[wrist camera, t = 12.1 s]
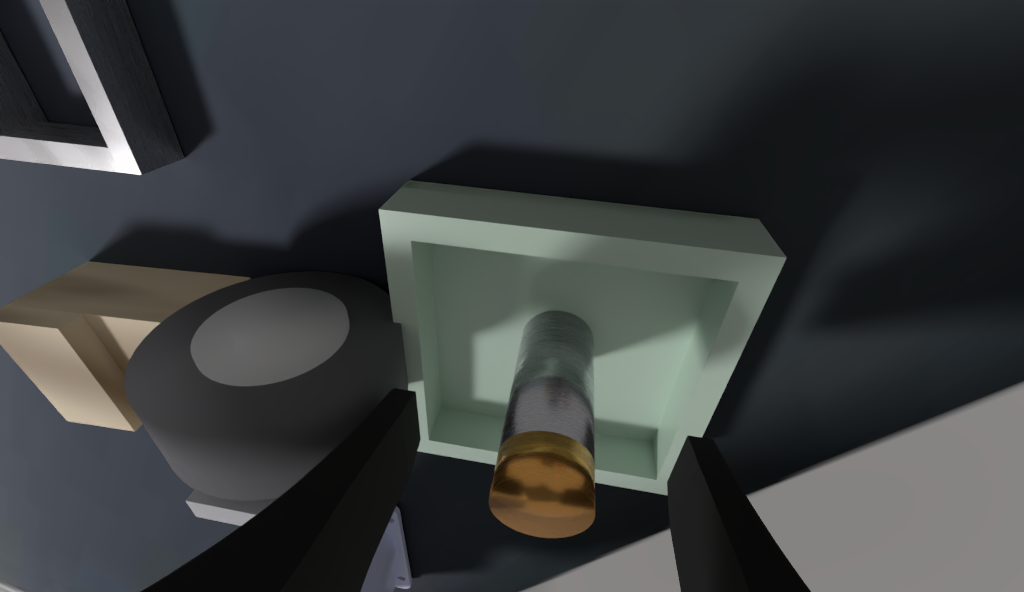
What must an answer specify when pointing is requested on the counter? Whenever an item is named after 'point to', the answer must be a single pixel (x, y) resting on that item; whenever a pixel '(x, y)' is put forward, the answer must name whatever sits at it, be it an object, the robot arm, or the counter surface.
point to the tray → (583, 292)
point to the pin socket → (91, 97)
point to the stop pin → (549, 432)
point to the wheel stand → (263, 383)
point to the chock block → (95, 333)
